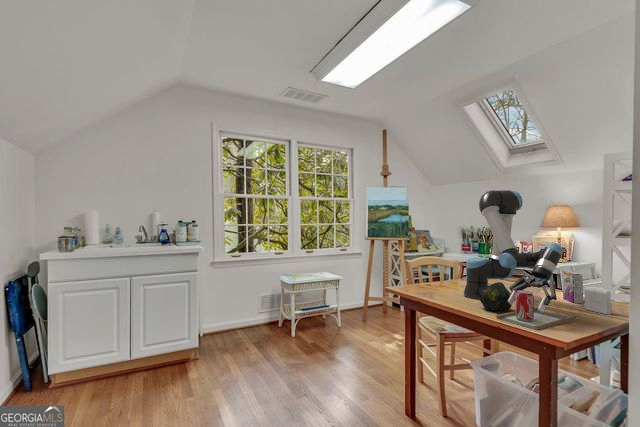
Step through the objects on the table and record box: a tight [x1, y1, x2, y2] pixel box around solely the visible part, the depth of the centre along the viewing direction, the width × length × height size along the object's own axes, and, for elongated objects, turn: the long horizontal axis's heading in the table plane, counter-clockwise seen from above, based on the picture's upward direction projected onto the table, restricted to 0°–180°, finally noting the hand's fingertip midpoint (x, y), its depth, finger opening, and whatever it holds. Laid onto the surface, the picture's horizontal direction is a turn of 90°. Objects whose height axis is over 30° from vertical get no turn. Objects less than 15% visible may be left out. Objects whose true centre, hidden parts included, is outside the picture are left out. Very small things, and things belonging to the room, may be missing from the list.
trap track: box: [495, 306, 577, 331], centre depth 147 cm, size 18×31×2 cm, turn 116°
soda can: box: [515, 289, 535, 322], centre depth 146 cm, size 7×7×13 cm
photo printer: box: [584, 286, 612, 316], centre depth 158 cm, size 10×4×12 cm, turn 25°
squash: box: [479, 281, 513, 312], centre depth 164 cm, size 14×15×15 cm
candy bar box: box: [561, 270, 584, 305], centre depth 179 cm, size 11×5×16 cm, turn 168°
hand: (524, 306), depth 144 cm, fingers open, 13 cm apart
